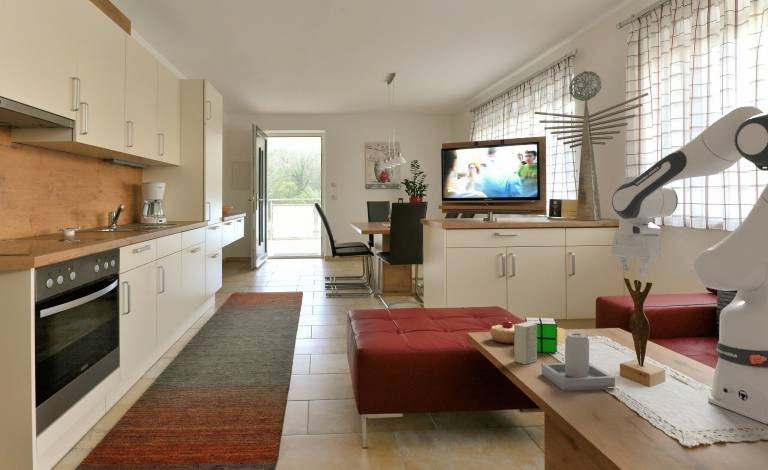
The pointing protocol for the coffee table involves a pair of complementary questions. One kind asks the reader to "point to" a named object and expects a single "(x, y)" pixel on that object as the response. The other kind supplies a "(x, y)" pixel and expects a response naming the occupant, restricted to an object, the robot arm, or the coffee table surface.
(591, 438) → the coffee table surface
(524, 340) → the skincare box
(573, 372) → the beverage can
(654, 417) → the coffee table surface
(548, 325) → the puzzle cube
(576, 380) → the tray
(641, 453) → the coffee table surface
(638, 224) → the robot arm
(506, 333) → the pastry
